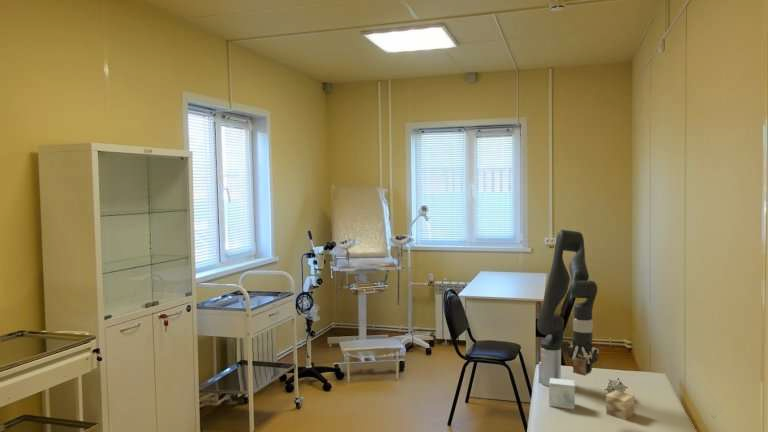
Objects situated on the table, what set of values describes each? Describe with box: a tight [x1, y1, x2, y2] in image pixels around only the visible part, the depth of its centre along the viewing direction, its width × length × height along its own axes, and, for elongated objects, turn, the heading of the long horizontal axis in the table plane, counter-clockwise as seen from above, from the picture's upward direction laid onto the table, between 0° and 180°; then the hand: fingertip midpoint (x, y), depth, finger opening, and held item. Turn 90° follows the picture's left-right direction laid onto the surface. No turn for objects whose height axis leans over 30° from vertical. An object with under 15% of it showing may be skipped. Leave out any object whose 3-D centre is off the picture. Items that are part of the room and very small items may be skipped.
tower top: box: [605, 390, 635, 411], centre depth 228 cm, size 8×8×4 cm
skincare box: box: [548, 378, 576, 410], centre depth 238 cm, size 10×6×10 cm, turn 70°
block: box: [572, 354, 592, 377], centre depth 225 cm, size 5×5×6 cm
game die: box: [604, 377, 629, 394], centre depth 246 cm, size 9×8×10 cm
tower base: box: [605, 404, 635, 421], centre depth 228 cm, size 8×8×4 cm
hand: (582, 370), depth 225 cm, fingers closed on block, 5 cm apart
